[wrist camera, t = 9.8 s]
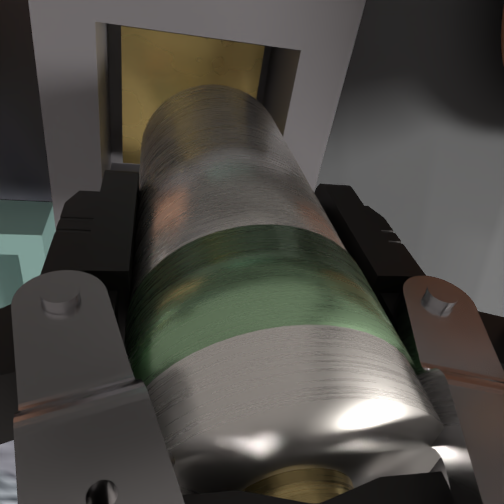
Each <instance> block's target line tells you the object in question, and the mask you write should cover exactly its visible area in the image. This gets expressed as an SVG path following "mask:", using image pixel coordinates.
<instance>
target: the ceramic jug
mask: <svg viewBox="0 0 504 504" xmlns="http://www.w3.org/2000/svg"><path fill="white" fill-rule="evenodd" d="M501 51H502V59H503V65H504V6H503V14H502V28H501Z"/></svg>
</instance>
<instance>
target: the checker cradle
mask: <svg viewBox="0 0 504 504" xmlns="http://www.w3.org/2000/svg"><path fill="white" fill-rule="evenodd" d="M28 3H29V11H30V20H31V28H32V36H33V45H34V53H35V61H36V70H37V78H38V86H39V95H40V103H41V111H42V120H43V128H44V136H45V145H46V153H47V162H48V170H49V178H50V187H51V195H52V203H53V212H54V220H55V228H56V227H57V224H58V221H59V220H60V216H61V213H62V210H63V207H64V204H65V202H66V201H67V200H68V199H70V198H71V197H72V196H73V195H75V194H76V193H77V192H78V191H79V190H80V191H99V192H100V189H101V185H102V180H103V176H104V172H105V170H115V171H131V172H139V170H140V164H131V163H123V137H122V57H121V25H123V26H130V27H137V28H144V29H151V30H159V31H166V32H173V33H180V34H187V35H194V36H202V37H209V38H216V39H223V40H230V41H237V42H244V43H252V44H259V45H264V46H265V49H264V55H263V61H262V67H261V73H260V79H259V85H258V91H257V97H256V100H257V101H259V102H260V103H261V104H262V105H263V106H264V107H265V108H266V110H267V111H268V112H269V114H270V115H271V117H272V118H273V120H274V122H275V124H276V125H277V127H278V129H279V131H280V133H281V134H282V136H283V138H284V140H285V142H286V143H287V145H288V147H289V149H290V150H291V152H292V154H293V156H294V158H295V159H296V161H297V163H298V165H299V166H300V168H301V170H302V172H303V174H304V175H305V177H306V179H307V181H308V183H309V184H310V186H311V188H312V190H313V191H314V190H315V187H316V183H317V179H318V176H319V172H320V168H321V165H322V161H323V157H324V154H325V150H326V146H327V143H328V139H329V135H330V131H331V128H332V124H333V120H334V117H335V113H336V109H337V106H338V102H339V98H340V95H341V91H342V87H343V84H344V80H345V76H346V73H347V69H348V65H349V62H350V58H351V54H352V51H353V47H354V43H355V40H356V36H357V32H358V29H359V25H360V21H361V18H362V14H363V10H364V7H365V3H366V0H28Z"/></svg>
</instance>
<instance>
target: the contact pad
mask: <svg viewBox="0 0 504 504" xmlns="http://www.w3.org/2000/svg"><path fill="white" fill-rule="evenodd" d="M264 49H265V46H264V45H259V44H252V43H244V42H237V41H230V40H223V39H216V38H209V37H202V36H194V35H187V34H180V33H173V32H166V31H159V30H151V29H144V28H137V27H130V26H123V25H121V57H122V137H123V163H131V164H140V156H141V142H142V137H143V133H144V130H145V128H146V125H147V123H148V121H149V119H150V118H151V116H152V115H153V113H154V112H155V111H156V109H157V108H158V107H159V106H160V105H161V104H162V103H163V102H164V101H166V100H167V99H169V98H170V97H171V96H173V95H175V94H176V93H178V92H180V91H182V90H185V89H188V88H190V87H195V86H199V85H208V84H215V85H224V86H230V87H233V88H236V89H239V90H241V91H243V92H246V93H248V94H249V95H251V96H252V97H254V98H255V99H256V97H257V91H258V85H259V79H260V73H261V67H262V61H263V55H264Z"/></svg>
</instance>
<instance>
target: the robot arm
mask: <svg viewBox="0 0 504 504" xmlns="http://www.w3.org/2000/svg"><path fill="white" fill-rule="evenodd" d="M315 195H316V197H317V199H318V200H319V202H320V204H321V206H322V208H323V209H324V211H325V213H326V215H327V216H328V218H329V220H330V222H331V224H332V225H333V227H334V229H335V231H336V232H337V234H338V236H339V238H340V240H341V241H342V243H343V245H344V247H345V249H346V250H347V252H348V253H349V254H350V255H351V257H352V258H353V259H354V260H355V261H356V263H357V265H358V266H359V268H360V269H361V271H362V273H363V274H364V276H365V278H366V280H367V281H368V283H369V285H370V287H371V288H372V290H373V292H374V294H375V295H376V297H377V299H378V301H379V302H380V304H381V306H382V308H383V309H384V311H385V313H386V315H387V317H388V318H389V320H390V322H391V324H392V325H393V327H394V329H395V331H396V332H397V334H398V336H399V338H400V339H401V341H402V343H403V345H404V346H405V348H406V350H407V352H408V353H409V355H410V357H411V359H412V360H413V362H414V364H415V367H416V369H417V374H416V375H417V377H418V379H419V381H420V382H421V384H422V386H423V388H424V389H425V391H426V393H427V395H428V397H429V398H430V400H431V402H432V404H433V406H434V408H435V410H436V412H437V414H438V416H439V418H440V420H441V421H442V423H443V425H444V429H443V430H442V431H441V433H440V434H439V435H438V437H437V438H436V440H435V441H434V442H433V444H432V445H431V447H433V448H434V449H436V450H437V452H438V453H439V454H440V456H441V458H440V459H439V460H438V461H437V463H436V464H435V465H434V467H433V468H432V469H431V470H430V472H428V473H418V474H407V475H396V476H385V477H379V478H377V479H374V480H372V481H370V482H367V483H365V484H363V485H361V486H358V487H356V488H354V489H351V490H349V491H347V492H345V493H342V494H340V495H338V496H335V497H333V498H331V499H329V500H326V501H324V502H321V503H306V502H300V501H295V500H289V499H284V498H278V497H273V496H267V495H262V494H256V493H250V492H245V491H239V490H235V491H224V492H214V493H203V494H192V495H182V494H181V491H180V488H179V484H178V481H177V478H176V475H175V472H174V469H173V466H172V463H171V460H170V457H169V454H168V451H167V448H166V445H165V442H164V439H163V436H162V433H161V430H160V427H159V424H158V421H157V418H156V415H155V412H154V409H153V405H152V402H151V399H150V396H149V394H148V391H147V388H146V386H145V384H144V382H143V381H142V379H135V377H134V375H133V372H132V369H131V366H130V363H129V359H128V356H127V353H126V350H125V347H124V339H125V326H126V315H127V311H128V307H129V303H130V300H131V288H132V275H133V263H134V250H135V238H136V225H137V213H138V200H139V172H131V171H115V170H105V172H104V176H103V180H102V185H101V189H100V192H99V191H80V190H79V191H78V192H77V193H76V194H75V195H73V196H72V197H71V198H70V199H68V200H67V201H66V202H65V204H64V207H63V210H62V213H61V216H60V220H59V221H58V224H57V227H56V232H55V233H54V236H53V239H52V242H51V245H50V248H49V251H48V253H47V256H46V259H45V262H44V265H43V268H42V271H41V274H40V275H39V276H37V277H34V278H32V279H31V280H29V281H27V282H26V283H25V284H23V285H22V286H21V287H20V288H19V289H18V290H17V291H16V293H15V294H14V296H13V299H12V301H11V304H10V305H8V306H5V307H3V308H0V444H3V443H6V442H9V441H12V440H14V448H15V464H16V480H17V497H18V504H504V317H500V316H496V315H492V314H487V313H483V312H479V311H478V310H477V308H476V306H475V304H474V302H473V301H472V300H471V298H470V297H469V296H468V295H467V294H466V293H465V292H463V291H462V290H461V289H459V288H458V287H456V286H455V285H453V284H451V283H449V282H447V281H445V280H442V279H439V278H435V277H431V276H426V275H425V274H424V272H423V271H422V269H421V268H420V267H419V265H418V264H417V263H416V261H415V260H414V258H413V257H412V256H411V254H410V253H409V252H408V250H407V249H406V247H405V246H404V245H403V244H401V241H400V239H399V238H398V236H397V235H396V234H395V233H393V230H392V228H391V227H390V225H389V224H388V223H387V221H386V220H385V219H384V217H382V216H381V215H380V214H378V213H377V212H375V211H374V210H373V209H371V208H370V207H369V206H364V205H363V203H362V202H361V200H360V199H359V197H358V196H357V194H356V193H355V192H354V190H353V189H352V187H351V186H348V185H332V184H319V185H318V186H317V188H316V190H315Z"/></svg>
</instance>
